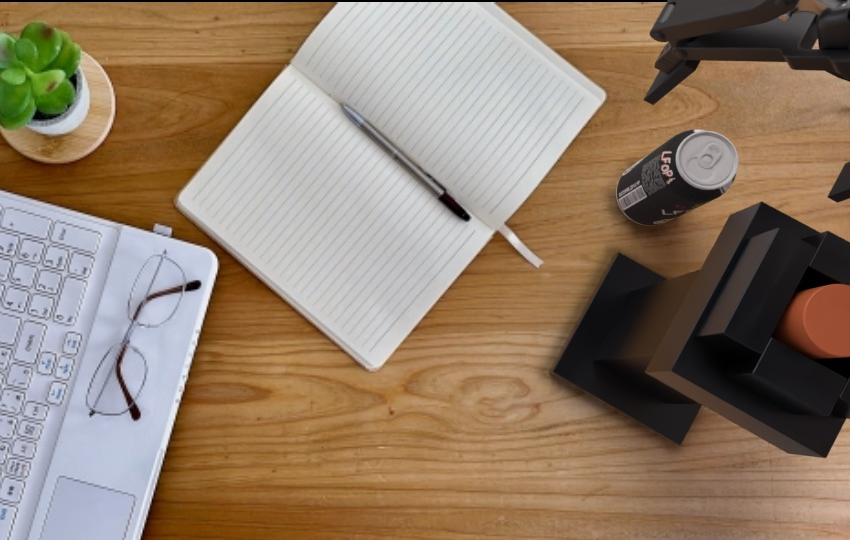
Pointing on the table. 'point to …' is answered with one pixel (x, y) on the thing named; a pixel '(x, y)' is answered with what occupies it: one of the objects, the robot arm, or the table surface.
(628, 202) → the beverage can
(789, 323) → the button
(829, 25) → the robot arm
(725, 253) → the button post
